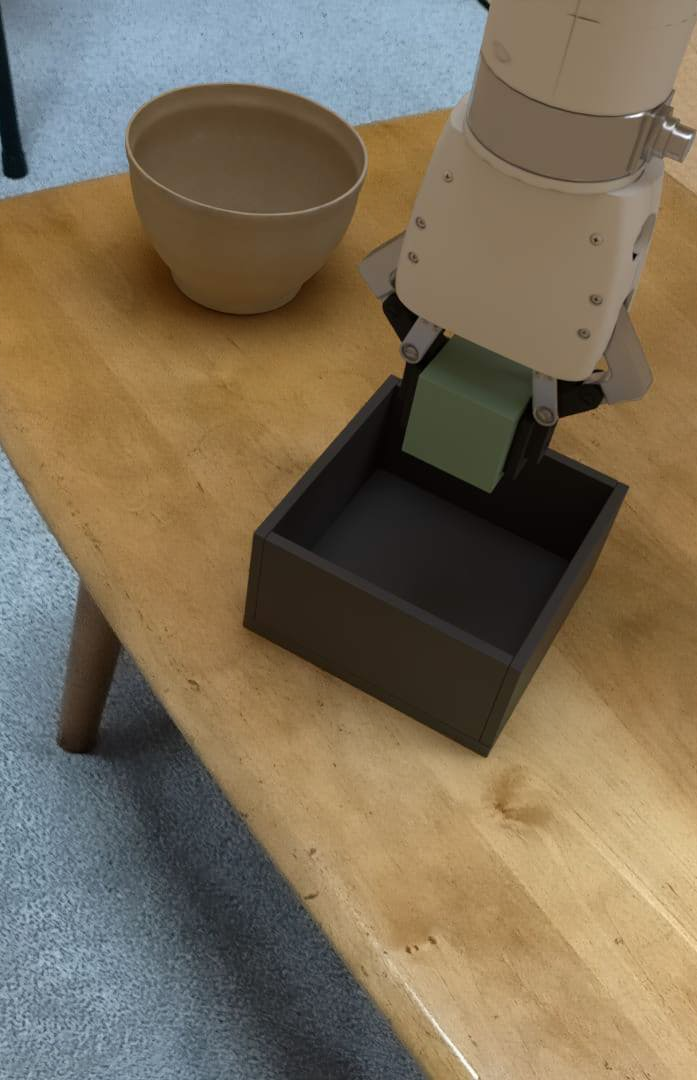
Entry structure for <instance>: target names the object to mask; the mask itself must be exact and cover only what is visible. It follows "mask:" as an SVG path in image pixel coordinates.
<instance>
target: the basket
mask: <svg viewBox="0 0 697 1080" xmlns="http://www.w3.org/2000/svg"><path fill="white" fill-rule="evenodd" d="M401 383H402V378H400V377H399V376H397V375H394V374H392V373H391V374H389V375H388V377H387V378H386V379H385V380H384V381H383V383H382V384H381V385H380V386H379V387H378V389H376V390H375V392H374V393H373V394H372V396H371V397H369V399H368V400H367V401H366V402H365V403H364V405H362V407H361V408H360V409H359V410H358V412H357V413H356V414H355V415H354V416H353V417H352V418H351V420H349V422H348V423H347V424H346V426H345V427H344V428H343V429H342V430H341V431H340V432H339V433H338V434H337V436H336V437H335V438H334V439H333V440H332V441H331V443H330V444H329V445H328V446H327V447H326V448H325V450H324V451H323V452H322V453H321V454H320V455H319V457H317V459H316V460H315V461H314V462H313V463H312V465H310V467H309V468H308V469H307V470H306V471H305V473H304V474H303V475H302V476H301V477H300V478H299V479H298V481H297V482H296V483H295V484H294V485H293V487H292V488H291V489H290V490H289V491H288V492H287V494H285V496H284V497H283V498H282V499H281V500H280V501H279V503H278V504H277V505H276V506H275V507H274V508H273V509H272V511H271V512H270V513H269V514H268V515H267V516H266V518H265V519H264V520H263V521H262V522H261V523H260V524H259V526H258V527H257V528H256V529H255V530H254V531H253V533H252V542H251V551H250V560H249V569H248V576H247V577H248V578H247V587H246V596H245V597H246V598H245V604H244V614H243V621H242V626H243V627H244V628H246V629H248V630H250V631H252V632H254V633H255V634H257V635H259V636H261V637H262V638H265V639H266V640H268V641H270V642H272V643H274V644H276V645H278V646H279V647H281V648H283V649H285V650H287V651H289V652H290V653H292V654H294V655H296V656H297V657H300V658H301V659H303V660H305V661H307V662H309V663H311V664H312V665H315V666H316V667H317V668H320V669H322V670H323V671H326V672H327V673H329V674H331V675H333V676H335V677H336V678H338V679H340V680H342V681H344V682H345V683H347V684H350V685H351V686H353V687H355V688H356V689H359V690H360V691H362V692H364V693H366V694H367V695H370V696H371V697H373V698H375V699H377V700H379V701H380V702H383V703H385V704H386V705H389V706H390V707H391V708H393V709H396V710H397V711H399V712H401V713H402V714H405V715H407V716H408V717H410V718H412V719H414V720H416V721H417V722H419V723H421V724H423V725H424V726H427V727H429V728H430V729H432V730H435V731H436V732H437V733H439V734H441V735H443V736H445V737H447V738H449V739H450V740H452V741H454V742H456V743H458V744H460V745H462V746H463V747H466V748H467V749H469V750H471V751H473V752H474V753H477V754H479V755H480V756H482V757H484V758H488V756H489V754H490V753H491V751H492V750H493V748H494V746H495V744H496V743H497V740H498V739H499V737H500V735H501V734H502V732H503V730H504V728H505V727H506V725H507V723H508V721H509V720H510V718H511V716H512V714H513V713H514V711H515V709H516V707H517V705H518V704H519V702H520V700H521V698H522V697H523V695H524V693H525V691H526V689H528V687H529V685H530V683H531V681H532V679H533V677H534V675H535V674H536V673H537V670H538V669H539V667H540V666H541V663H542V662H543V660H544V658H545V657H546V655H547V653H548V651H549V649H550V647H551V646H552V644H553V642H554V641H555V639H556V637H557V635H558V634H559V632H560V630H561V628H562V627H563V625H564V623H565V622H566V620H567V618H568V616H569V614H570V613H571V611H572V609H573V607H574V606H575V604H576V603H577V601H578V599H579V597H580V595H581V594H582V592H583V590H584V589H585V587H586V584H587V583H588V581H589V579H590V578H591V575H592V573H593V571H594V569H595V567H596V564H597V562H598V561H599V557H600V555H601V553H602V551H603V549H604V546H605V544H606V542H607V540H608V538H609V535H610V533H611V530H612V528H613V526H614V523H615V521H616V519H617V518H618V517H617V516H618V514H619V512H620V510H621V507H622V505H623V503H624V501H625V498H626V496H627V494H628V491H629V489H630V486H629V485H628V484H627V483H624V482H622V481H619V480H618V479H616V478H613V476H612V477H611V476H610V475H608V474H606V473H603V472H601V471H599V470H597V469H595V468H592V467H590V466H588V465H587V464H584V463H582V462H581V461H577V460H576V459H573V458H572V457H569V456H567V455H566V454H563V453H561V452H559V451H557V450H554V449H553V448H550V447H548V449H547V451H546V452H545V454H544V456H543V457H542V459H541V460H540V462H539V463H538V464H536V463H534V462H532V461H530V460H527V462H526V463H525V465H524V466H523V468H522V469H521V471H520V472H519V473H518V475H517V476H516V478H515V479H514V480H512V479H510V478H508V477H506V476H504V475H503V476H502V477H501V479H500V480H499V482H498V483H497V485H496V486H495V488H494V489H493V490H492V492H491V493H488V492H486V491H484V490H482V489H480V488H478V487H476V486H474V485H472V484H470V483H468V482H466V481H464V480H461V479H459V478H457V477H455V476H453V475H451V474H449V473H447V472H445V471H443V470H441V469H439V468H437V467H435V466H433V465H431V464H429V463H427V462H425V461H423V460H421V459H418V458H416V457H414V456H412V455H410V454H408V453H406V452H404V451H402V446H403V442H404V438H405V434H406V429H407V428H404V427H402V426H401V425H400V424H401V419H402V415H403V410H404V406H405V402H406V401H404V400H402V399H400V398H399V392H400V387H401Z"/></svg>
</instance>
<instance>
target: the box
mask: <svg viewBox="0 0 697 1080" xmlns="http://www.w3.org/2000/svg"><path fill="white" fill-rule="evenodd" d="M450 338H451V339H450V340H449V341H448V342H447V343H446V345H445V346H444V347H443V348H442V349H441V350H440V352H439V353H438V354H437V355H436V356H435V358H434V359H433V360H432V361H431V362H430V363H429V365H428V366H427V367H426V368H425V369H424V371H423V372H422V373H421V374H420V375H419V379H418V383H417V387H416V391H415V395H414V400H413V404H412V408H411V412H410V417H409V421H408V425H407V429H406V434H405V438H404V442H403V446H402V451H404V452H406V453H408V454H410V455H412V456H414V457H416V458H418V459H421V460H423V461H425V462H427V463H429V464H431V465H433V466H435V467H437V468H439V469H441V470H443V471H445V472H447V473H449V474H451V475H453V476H455V477H457V478H459V479H461V480H464V481H466V482H468V483H470V484H472V485H474V486H476V487H478V488H480V489H482V490H484V491H486V492H488V493H491V492H492V490H493V489H494V488H495V486H496V485H497V483H498V482H499V480H500V479H501V477H502V476H503V475H504V472H502V471H503V468H504V465H505V462H506V458H507V455H508V452H509V449H510V446H511V443H512V440H513V437H514V434H515V431H516V428H517V425H518V422H519V420H520V418H521V416H522V415H523V413H524V412H525V411H526V409H527V408H528V406H529V405H530V404H531V402H532V369H531V368H529V367H527V366H524V365H522V364H520V363H518V362H515V361H513V360H511V359H509V358H506V357H504V356H502V355H500V354H498V353H495V352H493V351H491V350H489V349H486V348H484V347H482V346H480V345H478V344H476V343H473V342H471V341H469V340H467V339H465V338H463V337H461V336H458V335H456V334H454V333H453V334H452V336H451V337H450Z"/></svg>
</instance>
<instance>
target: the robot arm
mask: <svg viewBox="0 0 697 1080" xmlns="http://www.w3.org/2000/svg"><path fill="white" fill-rule="evenodd" d="M489 3H490V4H489V8H488V12H487V17H486V21H485V26H484V30H483V33H482V34H483V35H482V40H481V44H480V49H479V52H478V57H477V61H476V67H475V71H474V75H473V80H472V84H471V89H470V90H468V91H467V92H466V93H465V94H463V95H462V96H461V98H459V101H458V102H457V103H456V104H455V105H454V107H453V108H452V110H451V113H450V114H449V116H448V119H447V121H446V122H445V124H444V126H443V129H442V131H441V132H440V133H441V134H440V136H439V138H438V139H437V142H436V145H435V147H434V149H433V152H432V155H431V156H430V159H429V162H428V165H427V168H426V169H425V173H424V176H423V178H422V180H421V184H420V187H419V189H418V192H417V195H416V199H415V201H414V204H413V207H412V211H411V214H410V217H409V220H408V222H407V223H408V224H407V227H406V229H405V230H404V231H402V232H400V233H398V234H397V235H395V236H393V237H392V238H390V239H389V240H387V241H385V242H383V243H382V244H380V245H378V246H377V247H375V248H373V249H372V250H370V252H369V253H368V254H367V255H365V256H364V258H363V259H362V260H361V261H360V262H359V263H358V264H357V272H358V274H359V275H360V277H361V279H362V280H363V281H364V283H366V285H367V286H368V288H369V290H370V291H371V292H372V294H373V295H374V296H375V298H376V300H380V302H381V304H382V305H381V309H382V310H381V311H382V312H383V314H384V315H385V317H386V319H387V321H388V323H389V324H390V326H391V328H392V329H393V331H394V333H395V334H396V336H397V338H398V339H399V341H400V342H401V343H400V346H399V348H398V351H399V356H400V357H401V358H402V360H404V361H405V366H404V368H403V369H404V370H403V374H402V378H401V379H402V383H401V387H400V392H399V398H400V399H402V400H404V401H406V402H405V406H404V410H403V415H402V419H401V424H400V425H401V426H402V427H404V428H407V425H408V421H409V417H410V412H411V408H412V404H413V400H414V395H415V391H416V387H417V383H418V379H419V375H420V374H421V373H422V372H423V371H424V369H425V368H426V367H427V366H428V365H429V363H430V362H431V361H432V360H433V359H434V358H435V356H436V355H437V354H438V353H439V352H440V350H441V349H442V348H443V347H444V346H445V345H446V343H447V342H448V341H449V340H450V339H451V337H448V336H446V335H445V332H446V331H447V332H450V333H452V334H453V335H454V334H456V335H458V336H461V337H463V338H465V339H467V340H469V341H471V342H473V343H476V344H478V345H480V346H482V347H484V348H486V349H489V350H491V351H493V352H495V353H498V354H500V355H502V356H504V357H506V358H509V359H511V360H513V361H515V362H518V363H520V364H522V365H524V366H527V367H529V368H531V369H532V402H531V404H530V405H529V406H528V408H527V409H526V411H525V412H524V413H523V415H522V416H521V418H520V420H519V422H518V425H517V428H516V431H515V434H514V437H513V440H512V443H511V446H510V449H509V452H508V455H507V458H506V462H505V465H504V468H503V471H502V472H504V476H506V477H508V478H510V479H512V480H514V479H515V478H516V476H517V475H518V473H519V472H520V471H521V469H522V468H523V466H524V465H525V463H526V462H527V460H530V461H532V462H534V463H536V464H538V463H539V462H540V460H541V459H542V457H543V456H544V454H545V452H546V451H547V449H548V448H549V446H550V444H551V441H552V439H553V436H554V433H555V430H556V427H557V426H558V422H559V419H563V418H567V417H571V416H575V415H579V414H582V413H586V412H590V411H594V410H596V409H597V408H598V407H599V406H602V405H607V406H611V405H619V404H625V403H631V402H638V401H641V400H643V398H644V397H645V395H646V394H647V392H648V390H649V389H650V387H651V386H652V384H653V381H654V376H653V373H652V371H651V368H650V365H649V363H648V360H647V357H646V355H645V352H644V350H643V347H642V345H641V342H640V340H639V337H638V335H637V332H636V329H635V327H634V325H633V322H632V319H631V317H630V311H631V309H632V306H633V303H634V299H635V297H636V294H637V291H638V287H639V284H640V281H641V278H642V274H643V270H644V267H645V265H646V261H647V258H648V255H649V251H650V247H651V244H652V240H653V236H654V231H655V227H656V223H657V219H658V214H659V209H660V204H661V198H662V193H663V186H664V180H665V179H664V178H665V168H666V165H665V160H664V159H665V158H667V159H670V160H672V161H675V162H678V163H680V164H683V162H684V161H685V159H686V158H687V156H688V154H689V152H690V150H691V148H692V145H693V143H694V141H695V138H696V135H697V129H695V128H692V127H690V126H687V125H685V124H682V123H681V118H678V117H675V116H673V115H674V109H675V107H674V106H671V104H672V101H673V99H674V96H675V93H676V89H674V86H675V85H674V84H675V81H676V79H677V76H678V73H679V71H680V68H681V65H682V62H683V59H684V57H685V54H686V52H687V48H688V46H689V42H690V40H691V37H692V36H693V35H692V34H693V31H694V29H695V26H696V23H697V0H490V2H489ZM602 356H603V357H604V359H605V362H606V364H607V367H608V369H607V370H604V369H601V368H596V366H597V364H598V363H599V361H601V358H602Z"/></svg>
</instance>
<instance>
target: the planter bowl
mask: <svg viewBox="0 0 697 1080" xmlns="http://www.w3.org/2000/svg"><path fill="white" fill-rule="evenodd" d="M124 133H125V134H124V147H125V148H124V149H125V156H126V159H127V163H128V169H129V180H130V187H131V193H132V197H133V202H134V206H135V209H136V213H137V216H138V218H139V220H140V223H141V225H142V227H143V230H144V232H145V233H146V236H147V238H148V240H149V241H150V244H151V245H152V247H153V248H154V250H155V251H156V253H157V254H158V256H159V257H160V258H161V260H162V261H163V262H164V264H165V265H166V266H167V267H168V268H169V269H170V274H171V277H172V279H173V280H172V281H174V284H175V285H176V287H178V289H179V290H180V291H181V293H182V294H184V295H185V296H186V297H188V298H189V299H190V300H191V301H194V302H195V303H197V304H199V305H201V306H203V307H205V308H208V309H211V310H213V311H217V312H221V313H227V314H233V315H254V314H262V313H266V312H267V313H268V312H270V311H274V310H277V309H279V308H281V307H283V306H284V305H287V304H289V302H291V301H292V300H293V299H294V298H295V297H296V296H297V294H298V293H299V291H300V290H301V287H302V285H303V284H304V283H305V282H306V281H308V280H309V279H310V278H312V277H313V275H315V274H316V273H317V272H318V271H319V270H320V269H321V268H322V267H323V266H324V264H325V263H327V261H328V260H329V259H330V257H331V256H332V255H333V254H334V253H335V251H336V250H337V248H338V247H339V245H340V243H341V242H342V240H343V238H344V237H345V235H346V233H347V231H348V229H349V226H350V224H351V222H352V220H353V217H354V214H355V211H356V207H357V205H358V201H359V196H360V192H361V190H362V188H363V186H364V184H365V181H366V177H367V174H368V169H369V152H368V149H367V145H366V144H365V142H364V140H363V138H362V137H361V135H360V134H359V132H358V131H357V130H356V128H355V127H354V126H352V125H351V123H349V122H348V121H347V120H346V119H345V118H344V117H342V116H341V115H340V114H339V113H337V112H336V111H334V110H333V109H331V108H329V107H327V106H326V105H324V104H322V103H321V102H319V101H316V100H315V99H312V98H310V97H307V96H305V95H302V94H299V93H298V92H297V93H296V92H293V91H290V90H287V89H283V88H279V87H273V86H270V85H264V84H260V83H254V82H253V83H252V82H251V83H250V82H238V81H237V82H235V81H221V82H220V81H218V82H203V83H196V84H189V85H184V86H180V87H179V86H178V87H176V88H173V89H169V90H166V91H164V92H161V93H159V94H158V95H155V96H154V97H152V98H150V99H149V100H147V101H145V102H144V103H142V105H140V107H138V108H137V109H136V111H135V112H134V113H133V114H132V116H131V117H130V119H129V121H128V123H127V125H126V127H125V132H124Z"/></svg>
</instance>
